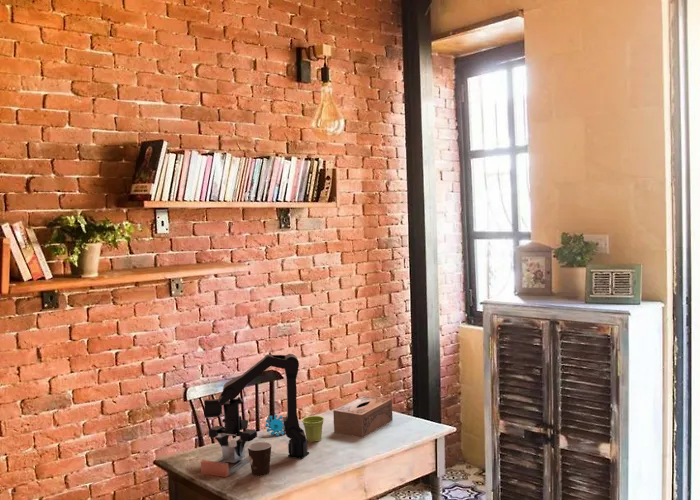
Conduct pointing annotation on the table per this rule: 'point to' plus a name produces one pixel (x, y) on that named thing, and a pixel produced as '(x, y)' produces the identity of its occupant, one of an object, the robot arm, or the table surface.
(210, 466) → the channel
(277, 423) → the blue spiky piece
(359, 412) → the tissue box cover
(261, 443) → the coffee mug
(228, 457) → the metal box with button
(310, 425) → the plant pot
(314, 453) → the table surface
